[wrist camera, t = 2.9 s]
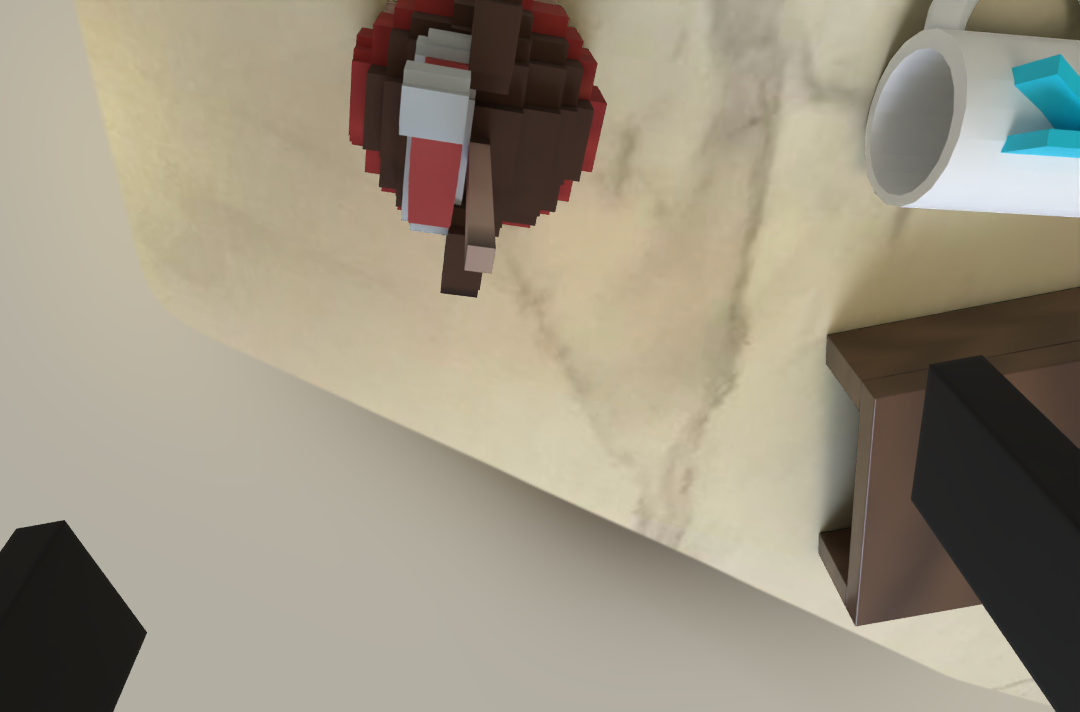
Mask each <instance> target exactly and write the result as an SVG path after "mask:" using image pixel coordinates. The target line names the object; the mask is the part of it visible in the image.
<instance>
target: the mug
mask: <svg viewBox="0 0 1080 712" xmlns="http://www.w3.org/2000/svg"><path fill="white" fill-rule="evenodd" d="M979 1H980V0H933V1H932V3H931V5H930V7H929V10H928V14H927V18H926V23H925V27H924V30H923V31H920V32H919V33H917V34H916V35H915V36H913V37H912V38H910V39H909V40H907V41H906V42H905V43H904V44H903V45H902V46H901V48H900V49H899V50H898V51H897V53H896V54H895V55H894V56H893V57H892V59H891V60H890V62H889V64H888V66H887V68H886V69H885V71H884V73H883V75H882V77H881V79H880V81H879V83H878V86H877V89H876V91H875V94H874V97H873V100H872V103H871V106H870V111H869V116H868V121H867V126H866V132H865V161H866V167H867V174H868V178H869V180H870V183H871V185H872V187H873V190H874V192H875V194H876V195H877V196H878V197H879V198H880V199H881V200H882V201H883V202H884V203H886V204H889V205H893V206H897V207H907V208H924V209H941V210H959V211H976V212H993V213H1011V214H1028V215H1045V216H1063V217H1080V40H1069V39H1057V38H1046V37H1034V36H1022V35H1011V34H999V33H987V32H976V31H965V27H966V23H967V21H968V19H969V17H970V15H971V13H972V11H973V9H974V7H975V5H976V4H977V3H978V2H979ZM1078 2H1079V4H1080V0H1078Z"/></svg>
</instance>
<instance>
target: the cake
mask: <svg viewBox="0 0 1080 712" xmlns="http://www.w3.org/2000/svg"><path fill="white" fill-rule="evenodd" d="M568 25H569V17H568V16H567V14H566V12H565V11H564V9H563V8H562V6H559V5H556V0H398V2H397V3H396V2H390V1H388V2H387V5H386V12H381V13H380V15H379V16H378V18H377V19H376V21H375V23H374V24H373V29H369V28H363V27H362V29H361V30H360V32H359V33H358V35H357V40H356V46H355V48H354V55H353V60H352V73H351V96H350V118H349V135H350V141H352V144H353V145H359V146H363V149H366V162H365V172H368V173H375V174H380V178H379V187H382V190H381V191H385V192H392V193H396V196H397V197H396V206H397V207H398V208H397V209H398V210H401V220H403V221H409V223H410V230H412V231H419V232H426V233H434V234H441V235H447V236H446V245H445V253H444V264H443V272H442V282H441V293H444V294H452V295H460V296H468V297H476V298H477V294H478V290H480V284H481V277H482V273H490V274H492V269H493V263H494V256H495V250H496V245H495V237H498V236H499V230H500V228H502V224H506V225H513V226H520V227H527V228H530V225H533V226H535V223H536V218H537V216H540V214H546V215H549V213H550V212H555V210H556V205H557V200H560V201H567V202H569V197H570V192H571V187H572V182H573V181H578V182H579V180H580V175H581V171H587V172H592V169H593V164H594V160H595V155H596V151H597V146H598V142H599V137H600V133H601V128H602V124H603V119H604V115H605V110H606V106H607V103H606V101H605V99H604V97H603V96H602V94H601V92H600V90H599V89H598V87H597V86H593V82H594V78H595V73H596V68H597V62H596V61H595V59H594V57H593V56H592V54H591V53H590V51H589V49H586V48H582V46H583V40H582V38H581V37H580V35H579V33H578V32H577V30H576V29H575V28H574V27H568Z"/></svg>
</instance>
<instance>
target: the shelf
mask: <svg viewBox="0 0 1080 712" xmlns="http://www.w3.org/2000/svg"><path fill="white" fill-rule="evenodd" d="M978 355H983V356H984V357H985V358H986V359H987V360H988V361H989V362H990V363H991V364H992V365H993V366H994V367H995V368H996V369H997V370H998V371H999V372H1000V373H1001V374H1002V375H1003V376H1004V377H1005V378H1006V379H1008V380H1009V381H1010V382H1011V383H1012V384H1013V385H1014V386H1015V387H1016V388H1017V389H1018V390H1019V391H1020V392H1021V393H1022V394H1023V395H1024V396H1025V397H1026V398H1027V399H1028V400H1029V401H1030V402H1031V403H1032V404H1033V405H1034V406H1035V407H1036V408H1037V409H1038V410H1040V411H1041V412H1042V413H1043V414H1044V415H1045V416H1046V417H1047V418H1048V419H1049V420H1050V421H1051V422H1052V423H1053V424H1054V425H1055V426H1056V427H1057V428H1058V429H1059V430H1060V431H1061V432H1062V433H1063V434H1064V435H1065V436H1066V437H1067V438H1068V439H1069V440H1070V441H1072V442H1073V443H1074V444H1075V445H1076V446H1077V447H1078V448H1079V449H1080V287H1079V288H1074V289H1068V290H1063V291H1058V292H1052V293H1047V294H1042V295H1037V296H1031V297H1026V298H1021V299H1016V300H1010V301H1005V302H1000V303H994V304H989V305H984V306H979V307H973V308H968V309H963V310H957V311H952V312H947V313H942V314H936V315H931V316H926V317H920V318H915V319H910V320H905V321H899V322H894V323H889V324H883V325H878V326H873V327H868V328H862V329H857V330H852V331H846V332H841V333H836V334H831V335H827V354H826V364H827V366H828V367H829V369H830V370H831V371H832V373H833V374H834V376H835V377H836V378H837V380H838V381H839V383H840V384H841V385H842V387H843V388H844V390H845V391H846V393H847V394H848V395H849V397H850V398H851V400H852V401H853V402H854V404H855V405H856V407H857V408H858V409H859V411H860V420H859V434H858V448H857V461H856V475H855V489H854V502H853V516H852V528H848V529H843V530H837V531H831V532H826V533H820V534H819V555H820V557H821V559H822V561H823V563H824V565H825V567H826V569H827V571H828V573H829V575H830V577H831V579H832V581H833V583H834V585H835V587H836V589H837V591H838V593H839V595H840V597H841V599H842V601H843V603H844V605H845V606H846V609H847V611H848V613H849V615H850V617H851V619H852V621H853V623H854V625H855V626H861V625H866V624H872V623H878V622H883V621H889V620H895V619H901V618H906V617H912V616H918V615H923V614H929V613H935V612H940V611H946V610H952V609H957V608H963V607H969V606H975V605H980V604H982V603H981V602H980V600H979V599H978V597H977V596H976V594H975V593H974V591H973V590H972V588H971V587H970V586H969V584H968V583H967V581H966V580H965V578H964V577H963V575H962V574H961V572H960V571H959V569H958V568H957V567H956V565H955V564H954V562H953V561H952V559H951V558H950V556H949V555H948V553H947V552H946V550H945V549H944V548H943V546H942V545H941V543H940V542H939V540H938V539H937V537H936V536H935V534H934V533H933V531H932V530H931V529H930V527H929V526H928V524H927V523H926V521H925V520H924V518H923V517H922V515H921V514H920V512H919V511H918V510H917V508H916V507H915V505H914V504H913V502H912V501H911V494H912V487H913V479H914V472H915V465H916V458H917V450H918V443H919V436H920V429H921V421H922V414H923V407H924V400H925V392H926V385H927V378H928V371H929V364H934V363H940V362H945V361H951V360H956V359H962V358H967V357H973V356H978Z"/></svg>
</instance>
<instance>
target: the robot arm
mask: <svg viewBox="0 0 1080 712" xmlns="http://www.w3.org/2000/svg"><path fill="white" fill-rule="evenodd" d="M911 501H912V502H913V504H914V505H915V507H916V508H917V510H918V511H919V512H920V514H921V515H922V517H923V518H924V520H925V521H926V523H927V524H928V526H929V527H930V529H931V530H932V531H933V533H934V534H935V536H936V537H937V539H938V540H939V542H940V543H941V545H942V546H943V548H944V549H945V550H946V552H947V553H948V555H949V556H950V558H951V559H952V561H953V562H954V564H955V565H956V567H957V568H958V569H959V571H960V572H961V574H962V575H963V577H964V578H965V580H966V581H967V583H968V584H969V586H970V587H971V588H972V590H973V591H974V593H975V594H976V596H977V597H978V599H979V600H980V602H981V603H982V605H983V606H984V607H985V609H986V610H987V612H988V613H989V615H990V616H991V618H992V619H993V621H994V622H995V624H996V625H997V626H998V628H999V629H1000V631H1001V632H1002V634H1003V635H1004V637H1005V638H1006V640H1007V641H1008V642H1009V644H1010V645H1011V647H1012V648H1013V650H1014V651H1015V653H1016V654H1017V656H1018V657H1019V659H1020V660H1021V661H1022V663H1023V664H1024V666H1025V667H1026V669H1027V670H1028V672H1029V673H1030V675H1031V676H1032V678H1033V679H1034V680H1035V682H1036V683H1037V685H1038V686H1039V688H1040V689H1041V691H1042V692H1043V694H1044V695H1045V697H1046V698H1047V699H1048V701H1049V702H1050V704H1051V705H1052V707H1053V708H1054V709H1055V711H1056V712H1080V449H1079V448H1078V447H1077V446H1076V445H1075V444H1074V443H1073V442H1072V441H1070V440H1069V439H1068V438H1067V437H1066V436H1065V435H1064V434H1063V433H1062V432H1061V431H1060V430H1059V429H1058V428H1057V427H1056V426H1055V425H1054V424H1053V423H1052V422H1051V421H1050V420H1049V419H1048V418H1047V417H1046V416H1045V415H1044V414H1043V413H1042V412H1041V411H1040V410H1038V409H1037V408H1036V407H1035V406H1034V405H1033V404H1032V403H1031V402H1030V401H1029V400H1028V399H1027V398H1026V397H1025V396H1024V395H1023V394H1022V393H1021V392H1020V391H1019V390H1018V389H1017V388H1016V387H1015V386H1014V385H1013V384H1012V383H1011V382H1010V381H1009V380H1008V379H1006V378H1005V377H1004V376H1003V375H1002V374H1001V373H1000V372H999V371H998V370H997V369H996V368H995V367H994V366H993V365H992V364H991V363H990V362H989V361H988V360H987V359H986V358H985V357H984V356H983V355H978V356H973V357H967V358H962V359H956V360H951V361H945V362H940V363H934V364H929V371H928V378H927V385H926V392H925V400H924V407H923V414H922V421H921V429H920V436H919V443H918V450H917V458H916V465H915V472H914V479H913V487H912V494H911ZM146 634H147V632H146V630H145V629H144V628H143V626H142V625H141V624H140V622H139V621H138V619H137V618H136V617H135V615H134V614H133V613H132V611H131V610H130V609H129V607H128V606H127V604H126V603H125V602H124V600H123V599H122V598H121V596H120V595H119V594H118V593H117V591H116V590H115V588H114V587H113V585H112V584H111V583H110V582H109V580H108V579H107V577H106V576H105V575H104V573H103V572H102V571H101V569H100V568H99V566H98V565H97V564H96V563H95V561H94V560H93V558H92V557H91V555H90V554H89V553H88V552H87V550H86V549H85V547H84V546H83V545H82V543H81V542H80V541H79V539H78V538H77V536H76V535H75V534H74V532H73V531H72V530H71V528H70V527H69V526H68V524H67V523H66V522H65V520H63V521H57V522H52V523H46V524H41V525H35V526H30V527H24V528H18V529H16V530H15V531H14V533H13V534H12V536H11V537H10V539H9V540H8V541H7V543H6V544H5V546H4V547H3V549H2V550H1V551H0V712H113V711H114V708H115V706H116V704H117V701H118V699H119V697H120V694H121V692H122V690H123V687H124V685H125V683H126V680H127V678H128V676H129V674H130V671H131V668H132V666H133V664H134V662H135V659H136V657H137V655H138V653H139V650H140V648H141V645H142V643H143V641H144V639H145V636H146Z"/></svg>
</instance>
